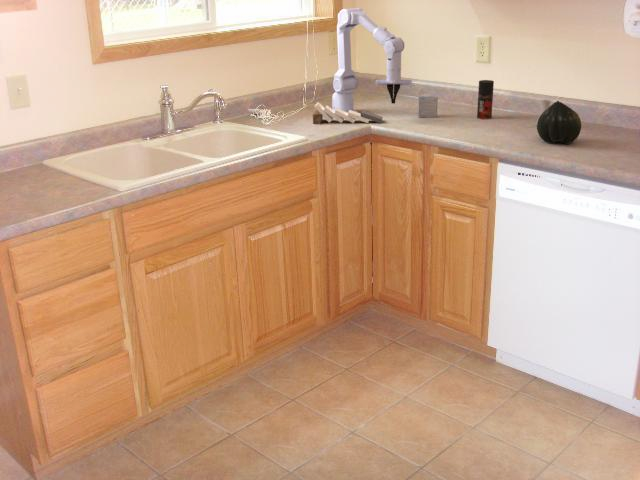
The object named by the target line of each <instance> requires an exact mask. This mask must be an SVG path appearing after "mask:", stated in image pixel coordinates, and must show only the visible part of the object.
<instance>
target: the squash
mask: <svg viewBox="0 0 640 480" xmlns="http://www.w3.org/2000/svg"><path fill="white" fill-rule="evenodd" d="M539 115H540V114H539ZM538 117H539V116H538ZM537 119H538V118H537ZM536 129H537V134H538V136H539V138H541V140H543V141H544V142H545V143H547V144H553V143H557V142H558V141H559V142H562V143H563V144H565V145H569V144H571V143H573V142H574V141H575V140H577V138H579V136H580V133H581V131H582V120H581V118H580V115H579V114H578V113H577V112H576V111H575V110H573V109H572V108H571V107H570V106H568V105H566V104H565V103H563V102H561V101H558V100H557V101H554V102H553V103H552V104H550V106H549V108H548V109H546V110H545V111H544V112H543V113H542V114H541V115H540V117H539V119H538V123H537V127H536Z"/></svg>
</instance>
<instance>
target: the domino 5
mask: <svg viewBox="0 0 640 480" xmlns="http://www.w3.org/2000/svg"><path fill="white" fill-rule="evenodd" d="M360 114H361V115H360V116H361V117H364V118H367V119H369V121H373V122H376V123H379V124H382V121H383V116H381V115H378V114H375V113H372V112H369V111H366V110H364V109H363V110H361V113H360Z"/></svg>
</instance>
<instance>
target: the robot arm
mask: <svg viewBox="0 0 640 480" xmlns="http://www.w3.org/2000/svg"><path fill="white" fill-rule="evenodd" d="M366 12H367V11H365V10H363V8H361V7H355V8H343V9H340V11H339V13H338V14H337V25H336V37H337V38H336V39H337V42H336V43H337V62H338V65H337V66H338V70H337V71H336V72H335V73H334V75H333V76H334V77H333V81H332V87H333V90H334V91H335V92H334V93H333V94H332V96H331V102H332V104H331V106H332V109H333V110H336V108H339V109H341V110H343V111H345V112H347V113H348V112H349V110H352V111H355V112H357V113H359V111H357V110H355V107H354V106H355V105H354V102H355V100H354V92H355V90H356V89H357V88H358V80H357V78H356V77H357V75H356V72H355V71H354V70H353V69H352V51H351V50H352V49H351V48H352V47H351V31H352V30H353V29H354V28H355V27H356V26H358V25H360V26H361V27H363V28H364V29H366V30H368V31H369V32H370V33H371V34H372V36H373V39H374V40H375V41H376V42H377V43H378V44H380V45H381V46H382V47H383V50H384V52H385V57H386V79H376V80H375V86H386V89H387V91H388V93H389V96H390V102H391V104H393V105H395V104H396V100H397V95H398V93H399V90H400V88H401V86H409V87H410V86H412V84H413V83H412V82H413V81H412V79H403V78H402V52H403V51H404V49H405V42H404V40H403V39H402V37H400V36H399V37H396V36H395V34H393V33H391V32H390V31H389V30H388V29H387V27H385V26H380V27H379V26H378V24H376V23H375V21H373V20H372V19H371V17H369V16H368V15H367V13H366Z"/></svg>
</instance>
